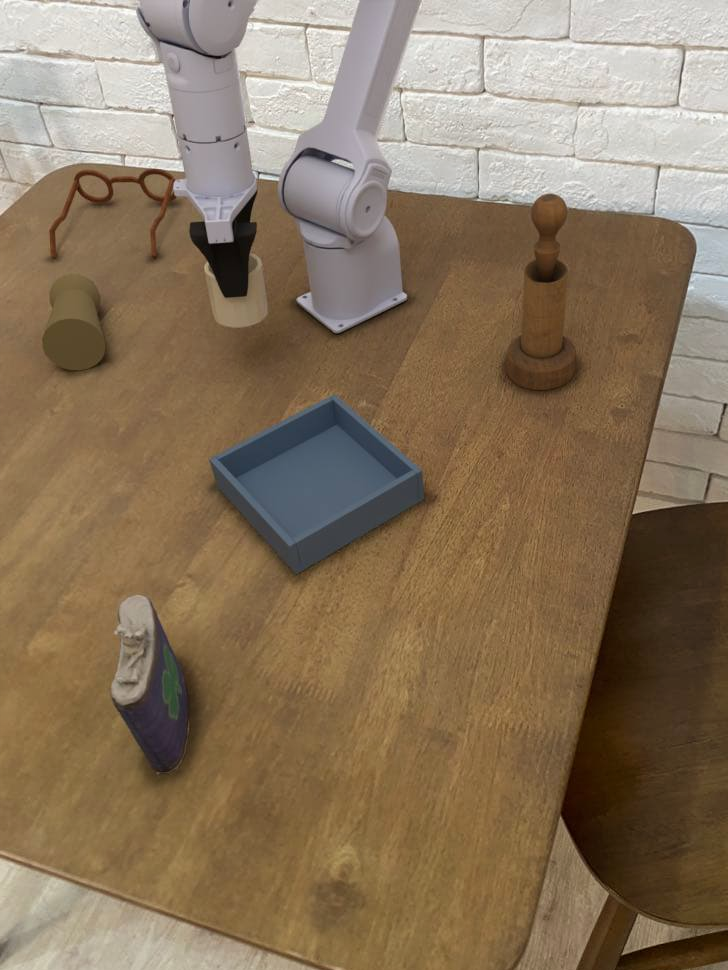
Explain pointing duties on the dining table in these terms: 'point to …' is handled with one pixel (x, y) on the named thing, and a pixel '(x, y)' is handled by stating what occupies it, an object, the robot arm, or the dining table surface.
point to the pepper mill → (74, 324)
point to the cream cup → (239, 298)
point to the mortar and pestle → (543, 308)
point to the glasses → (107, 198)
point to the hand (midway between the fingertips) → (236, 278)
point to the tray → (317, 481)
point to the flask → (150, 686)
